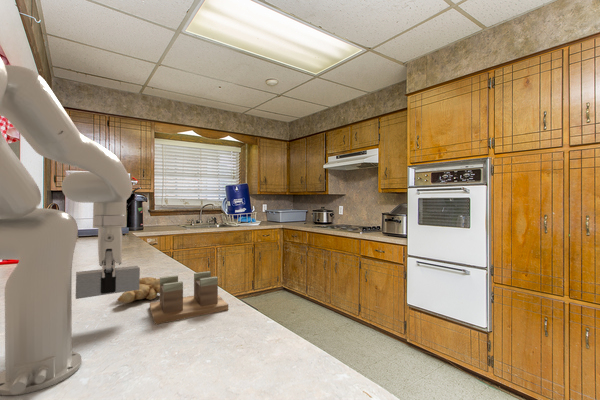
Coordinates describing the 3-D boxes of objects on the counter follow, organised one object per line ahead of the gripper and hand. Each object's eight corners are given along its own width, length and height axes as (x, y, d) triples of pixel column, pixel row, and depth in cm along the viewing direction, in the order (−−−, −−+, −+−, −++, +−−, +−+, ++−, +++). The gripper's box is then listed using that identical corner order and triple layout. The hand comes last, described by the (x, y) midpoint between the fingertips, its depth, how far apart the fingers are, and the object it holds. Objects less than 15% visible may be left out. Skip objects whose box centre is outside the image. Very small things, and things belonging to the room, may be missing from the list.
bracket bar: (139, 289, 82) (139, 267, 82) (75, 299, 73) (76, 274, 73) (136, 286, 85) (137, 265, 85) (75, 295, 76) (76, 271, 76)
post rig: (228, 309, 89) (228, 278, 89) (154, 324, 78) (154, 288, 78) (215, 296, 101) (215, 268, 101) (149, 307, 90) (149, 276, 90)
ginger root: (162, 283, 111) (163, 263, 110) (172, 305, 99) (173, 283, 97) (114, 292, 102) (113, 271, 100) (118, 318, 90) (117, 294, 88)
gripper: (127, 222, 74) (125, 296, 74) (125, 220, 89) (124, 282, 88) (90, 223, 70) (88, 301, 70) (94, 221, 85) (93, 285, 84)
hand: (108, 289), depth 79 cm, fingers closed on bracket bar, 4 cm apart
